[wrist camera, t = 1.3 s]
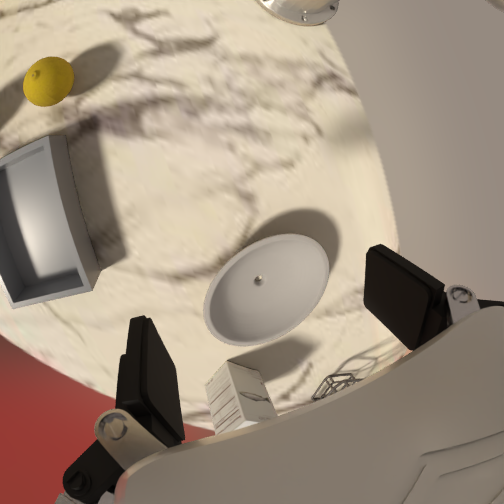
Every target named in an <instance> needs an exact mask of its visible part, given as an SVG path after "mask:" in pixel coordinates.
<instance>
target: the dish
mask: <svg viewBox="0 0 504 504" xmlns="http://www.w3.org/2000/svg"><path fill="white" fill-rule="evenodd" d="M260 275H261V276H262V279H261V280H260V281H255V278H256V277H257V276H260ZM328 278H329V260H328V257H327V254H326V252H325V250H324V249H323V247H322V246H321V245H320V244H319V243H318V242H317V241H316V240H314V239H312V238H310V237H308V236H305V235H301V234H294V233H285V234H278V235H273V236H270V237H266V238H264V239H261V240H259V241H256V242H254V243H252V244H251V245H249V246H247V247H246V248H244V249H243V250H241V251H240V252H238V253H237V254H236V255H235V256H233V257H232V258H231V259H230V260H229V261H228V262H227V263H226V264H225V265H224V266H223V267H222V268H221V269H220V271H219V272H218V273H217V275H216V276H215V278H214V279H213V281H212V283H211V284H210V286H209V289H208V291H207V294H206V297H205V301H204V308H203V314H204V320H205V323H206V326H207V328H208V330H209V331H210V332H211V334H212V335H213V336H214V337H216V338H217V339H218V340H220V341H222V342H224V343H226V344H229V345H234V346H254V345H259V344H263V343H266V342H269V341H272V340H274V339H277V338H279V337H281V336H282V335H284V334H286V333H288V332H289V331H291V330H292V329H294V328H295V327H296V326H297V325H299V324H300V323H301V322H302V321H303V320H304V319H305V318H306V317H307V316H308V315H309V314H310V313H311V312H312V311H313V309H314V308H315V307H316V305H317V304H318V302H319V301H320V299H321V297H322V295H323V293H324V291H325V288H326V286H327V282H328Z"/></svg>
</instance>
